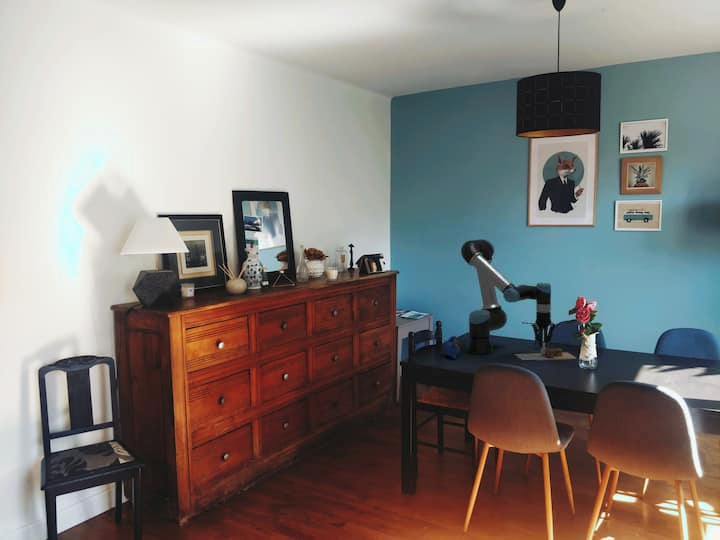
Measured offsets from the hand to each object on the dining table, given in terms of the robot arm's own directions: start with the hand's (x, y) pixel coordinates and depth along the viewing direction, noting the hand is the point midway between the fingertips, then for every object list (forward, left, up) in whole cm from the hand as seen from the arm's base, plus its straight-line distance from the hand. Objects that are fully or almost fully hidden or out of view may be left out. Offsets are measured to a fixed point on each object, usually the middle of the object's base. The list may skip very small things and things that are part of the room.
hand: (543, 353), depth 310 cm
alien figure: (+5, +21, -2) cm, 22 cm away
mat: (+1, 0, -2) cm, 2 cm away
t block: (+5, 0, -2) cm, 6 cm away
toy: (-49, +9, -2) cm, 50 cm away
